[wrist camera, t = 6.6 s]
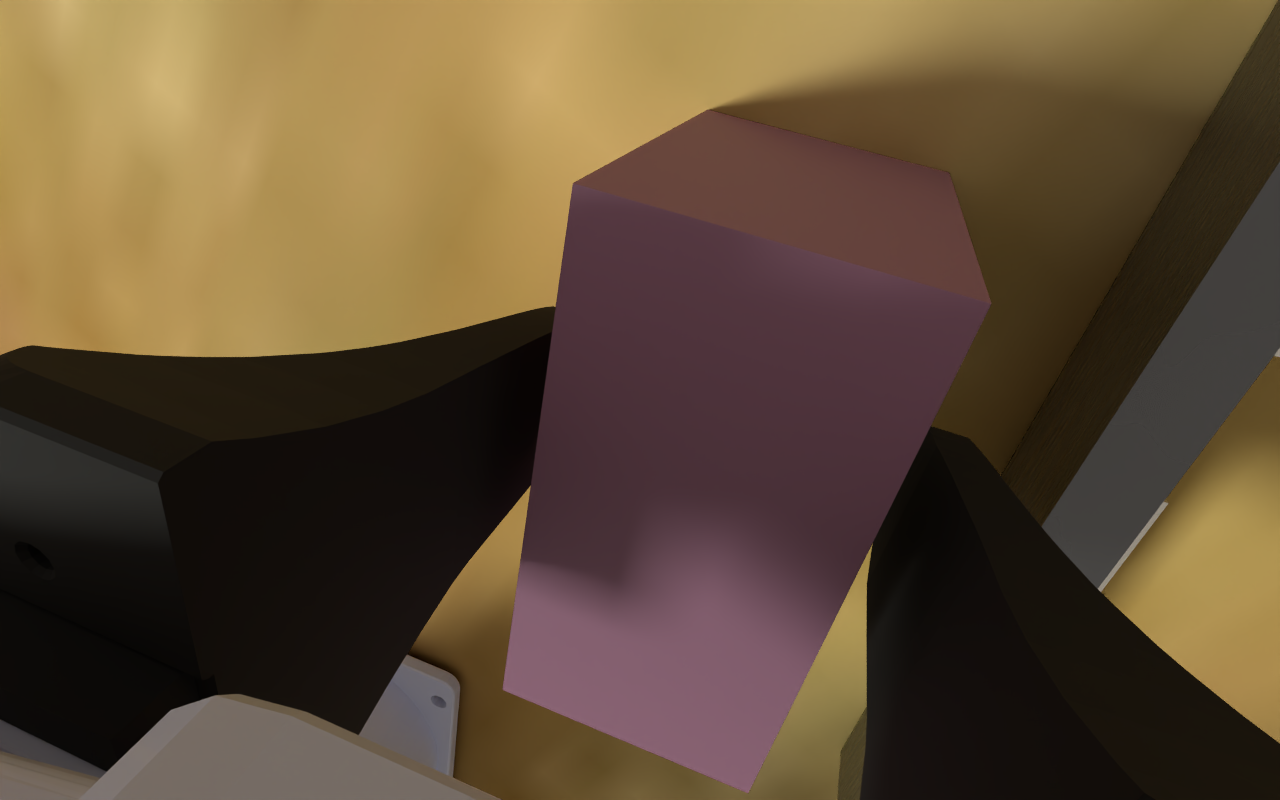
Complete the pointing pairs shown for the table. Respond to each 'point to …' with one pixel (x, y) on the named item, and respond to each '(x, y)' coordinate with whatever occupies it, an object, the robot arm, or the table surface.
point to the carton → (728, 425)
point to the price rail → (1160, 346)
